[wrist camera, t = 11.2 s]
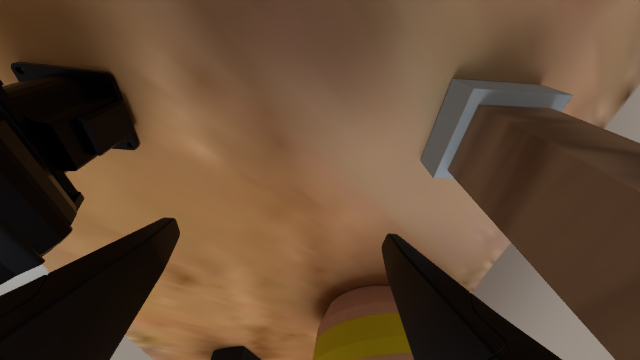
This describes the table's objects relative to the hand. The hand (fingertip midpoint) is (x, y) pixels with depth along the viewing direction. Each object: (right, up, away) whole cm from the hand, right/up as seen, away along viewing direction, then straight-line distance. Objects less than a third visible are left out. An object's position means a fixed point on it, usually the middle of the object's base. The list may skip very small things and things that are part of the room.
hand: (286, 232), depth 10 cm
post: (+16, +6, +9) cm, 20 cm away
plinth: (+16, +7, +12) cm, 21 cm away
